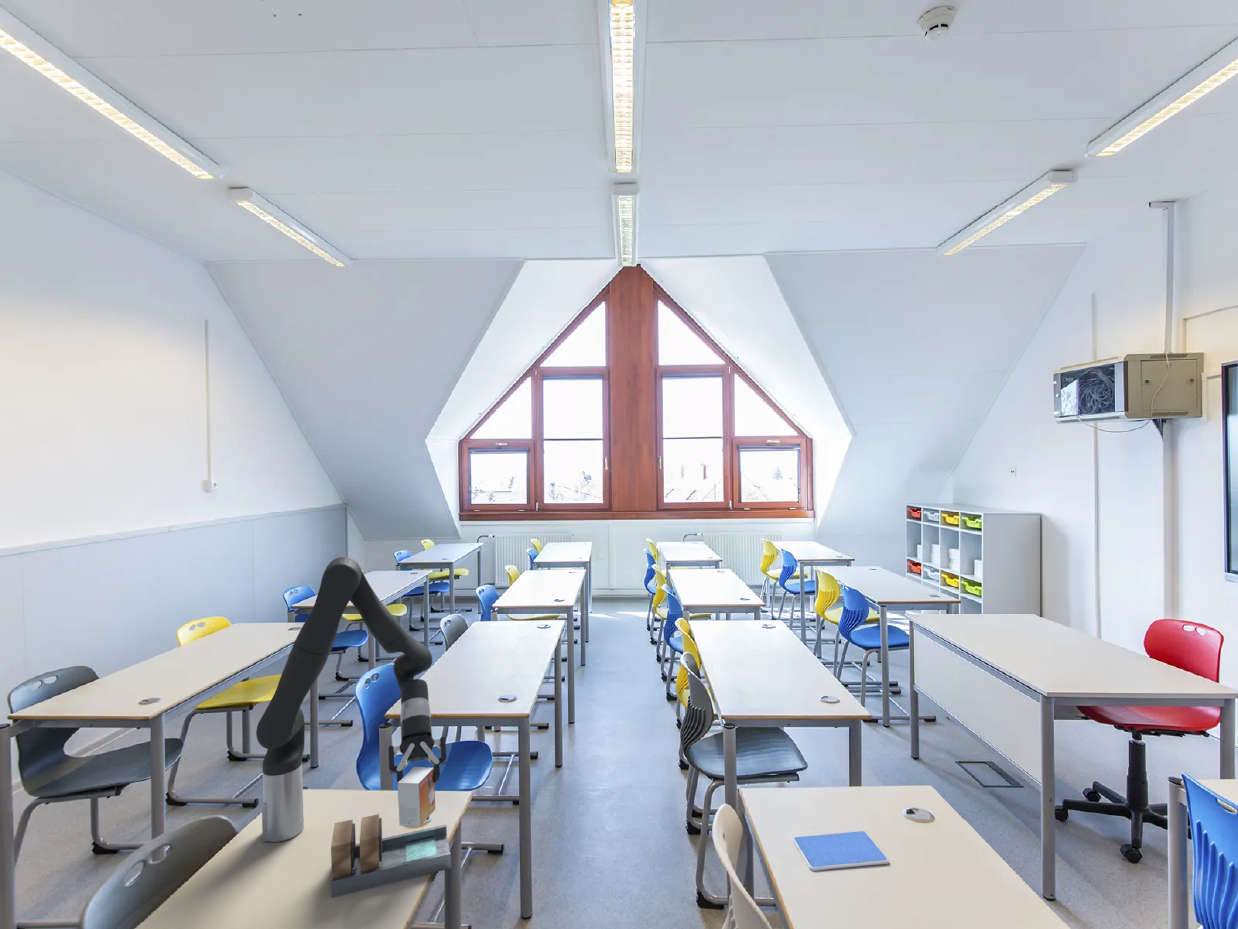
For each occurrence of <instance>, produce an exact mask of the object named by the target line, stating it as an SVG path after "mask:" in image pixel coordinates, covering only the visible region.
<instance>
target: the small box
mask: <svg viewBox="0 0 1238 929" xmlns="http://www.w3.org/2000/svg"><path fill="white" fill-rule="evenodd" d="M435 787H436V786H435V784H434V768H433V767H427V766H426V767H425V766H413V767H411V770H410V771H408V772H407V773H406V774H405V776H404V775H403V778H402V779H401V780H400V781H399V782H398V786H397V798H398V800H397V801H398V821H399V826H401V827H418V828H420V827H422V826H423V824H424V823H425V822H426V820H428V818H429V817H430V816H431V815H432V814H433V813H434V812H435V811H436V790H435V789H436V788H435Z"/></svg>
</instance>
